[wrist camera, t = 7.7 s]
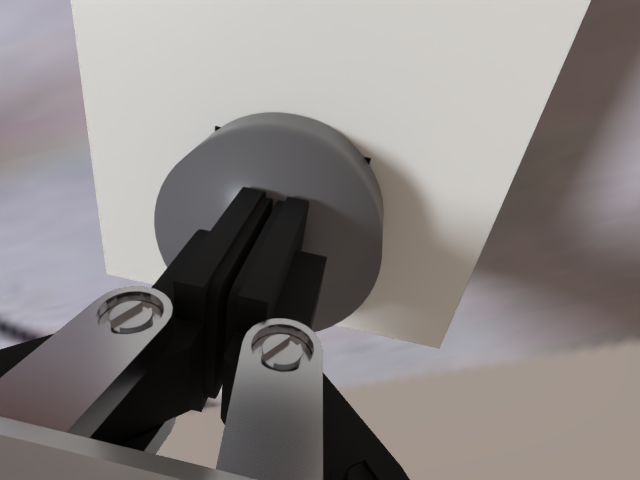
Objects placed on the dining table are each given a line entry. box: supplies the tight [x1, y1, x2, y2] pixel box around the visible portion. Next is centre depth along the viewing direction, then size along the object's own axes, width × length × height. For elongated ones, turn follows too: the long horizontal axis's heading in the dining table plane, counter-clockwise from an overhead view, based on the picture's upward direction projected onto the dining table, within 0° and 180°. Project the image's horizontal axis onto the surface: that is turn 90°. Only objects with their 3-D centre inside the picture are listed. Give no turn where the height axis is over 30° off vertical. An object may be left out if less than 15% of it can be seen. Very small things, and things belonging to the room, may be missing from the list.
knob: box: [154, 112, 384, 332], centre depth 14 cm, size 6×6×8 cm
